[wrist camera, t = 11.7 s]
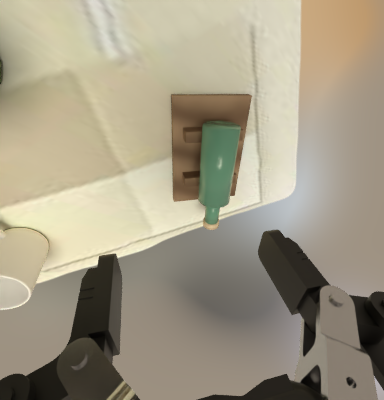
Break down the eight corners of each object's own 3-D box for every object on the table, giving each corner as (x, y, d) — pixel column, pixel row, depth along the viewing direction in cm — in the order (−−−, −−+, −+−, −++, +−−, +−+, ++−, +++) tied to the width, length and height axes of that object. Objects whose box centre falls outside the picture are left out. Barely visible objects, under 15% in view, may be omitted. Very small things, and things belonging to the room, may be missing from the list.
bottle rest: (171, 94, 32) (175, 99, 29) (248, 94, 34) (259, 98, 31) (173, 198, 42) (176, 209, 39) (232, 192, 44) (239, 202, 41)
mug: (-35, 219, 35) (-85, 272, 27) (16, 203, 36) (-19, 250, 27) (18, 263, 43) (-9, 316, 34) (59, 249, 43) (42, 298, 35)
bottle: (198, 121, 32) (208, 132, 27) (232, 120, 33) (247, 131, 28) (193, 217, 42) (200, 236, 38) (220, 214, 43) (229, 232, 38)
